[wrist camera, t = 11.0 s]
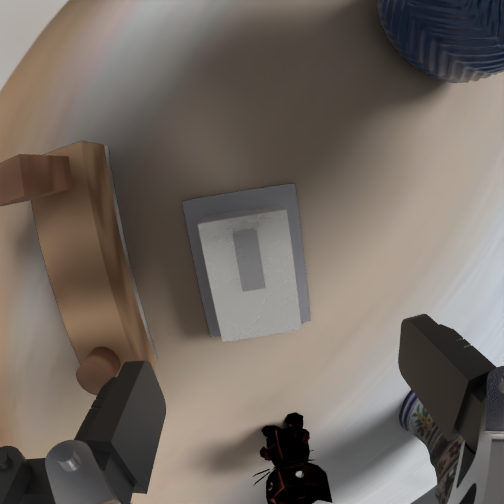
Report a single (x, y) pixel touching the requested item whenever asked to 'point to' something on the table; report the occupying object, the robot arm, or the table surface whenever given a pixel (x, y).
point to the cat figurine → (292, 466)
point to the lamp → (447, 36)
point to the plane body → (83, 255)
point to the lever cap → (251, 272)
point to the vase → (432, 444)
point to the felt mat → (236, 202)
